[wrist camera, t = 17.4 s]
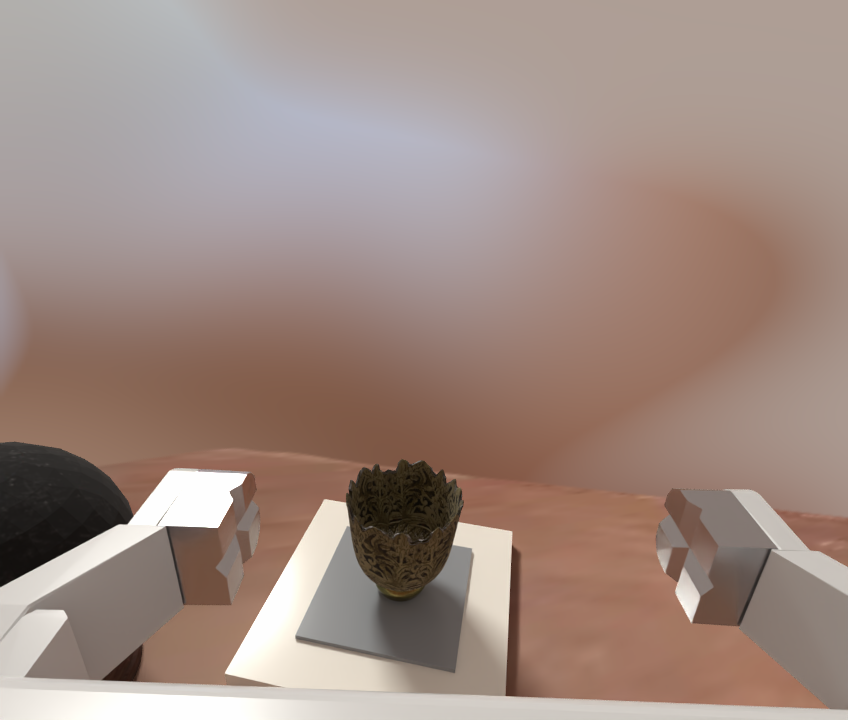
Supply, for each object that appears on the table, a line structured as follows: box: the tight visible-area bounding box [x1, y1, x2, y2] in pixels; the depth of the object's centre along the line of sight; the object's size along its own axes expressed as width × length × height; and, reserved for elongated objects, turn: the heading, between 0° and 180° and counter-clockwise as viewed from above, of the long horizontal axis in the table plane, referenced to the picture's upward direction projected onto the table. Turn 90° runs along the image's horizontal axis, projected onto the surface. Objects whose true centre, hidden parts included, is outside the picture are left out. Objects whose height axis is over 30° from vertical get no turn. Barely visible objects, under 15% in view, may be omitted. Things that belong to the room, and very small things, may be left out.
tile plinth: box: [225, 499, 512, 696], centre depth 36 cm, size 16×16×2 cm
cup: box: [346, 459, 464, 602], centre depth 34 cm, size 8×7×8 cm
